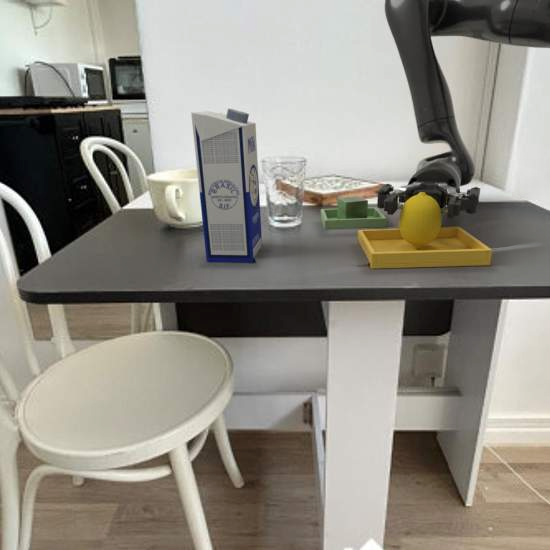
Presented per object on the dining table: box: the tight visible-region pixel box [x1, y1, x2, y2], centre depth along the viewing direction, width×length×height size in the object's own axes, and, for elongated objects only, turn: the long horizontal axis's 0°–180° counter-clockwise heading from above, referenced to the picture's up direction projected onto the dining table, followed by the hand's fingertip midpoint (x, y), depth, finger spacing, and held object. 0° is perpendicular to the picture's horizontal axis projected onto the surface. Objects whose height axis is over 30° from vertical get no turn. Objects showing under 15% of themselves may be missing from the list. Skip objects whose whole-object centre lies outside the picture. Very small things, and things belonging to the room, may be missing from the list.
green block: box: [336, 195, 369, 219], centre depth 76 cm, size 4×4×4 cm
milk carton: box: [190, 108, 263, 263], centre depth 61 cm, size 7×7×20 cm
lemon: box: [398, 192, 442, 249], centre depth 60 cm, size 6×6×8 cm
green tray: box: [320, 206, 387, 230], centre depth 76 cm, size 10×8×2 cm
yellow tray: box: [357, 226, 493, 270], centre depth 61 cm, size 15×11×2 cm
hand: (419, 209), depth 57 cm, fingers open, 7 cm apart
